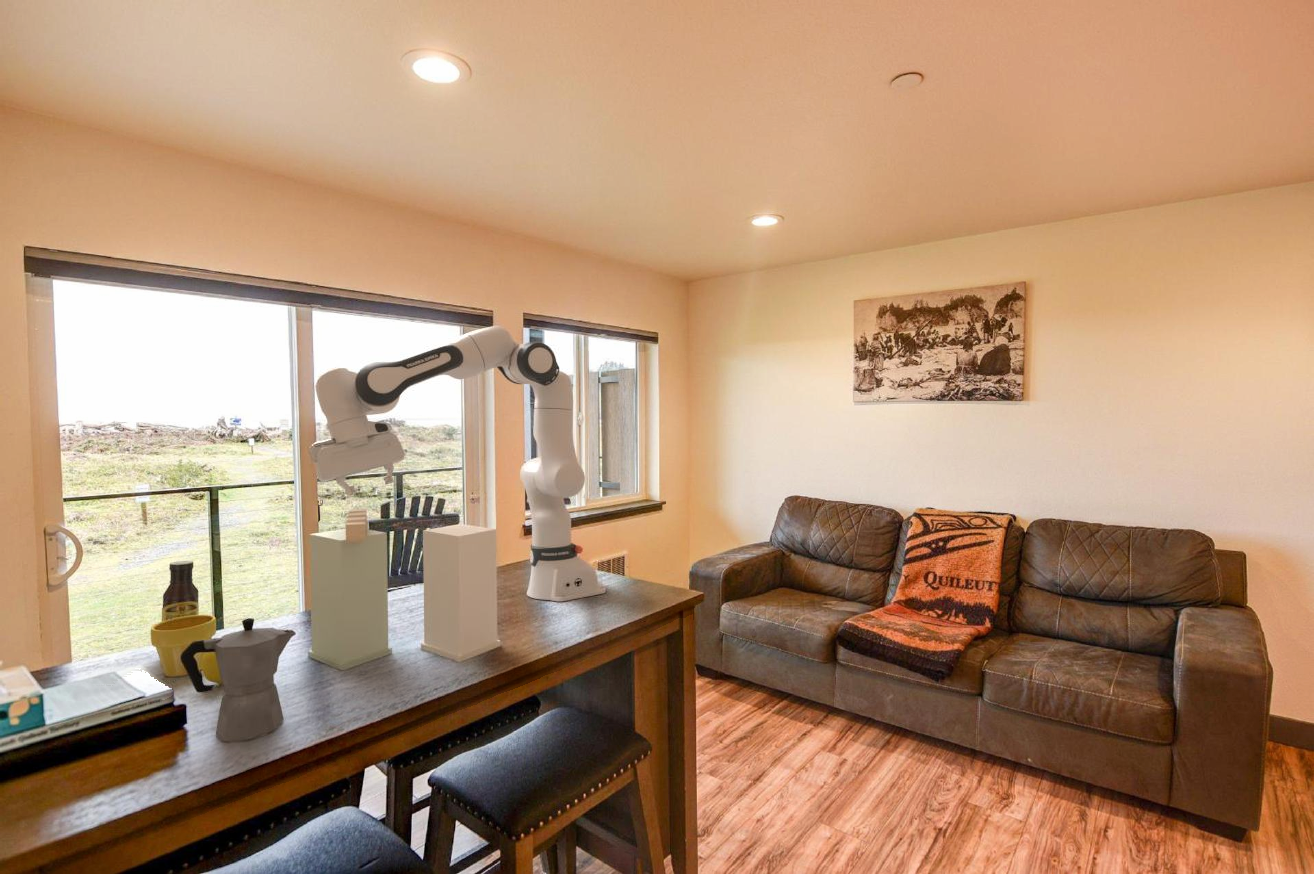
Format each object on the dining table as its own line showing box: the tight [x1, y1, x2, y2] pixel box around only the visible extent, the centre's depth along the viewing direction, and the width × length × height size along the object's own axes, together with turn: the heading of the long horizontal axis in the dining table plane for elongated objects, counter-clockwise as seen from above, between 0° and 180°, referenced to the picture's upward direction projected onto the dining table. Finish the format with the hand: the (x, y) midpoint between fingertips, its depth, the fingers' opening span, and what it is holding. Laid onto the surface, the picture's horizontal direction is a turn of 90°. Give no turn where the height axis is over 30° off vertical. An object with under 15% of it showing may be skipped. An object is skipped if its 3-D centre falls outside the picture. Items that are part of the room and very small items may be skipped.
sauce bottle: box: [161, 560, 200, 622], centre depth 132 cm, size 6×6×20 cm
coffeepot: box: [181, 618, 297, 743], centre depth 100 cm, size 15×9×18 cm, turn 122°
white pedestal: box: [420, 523, 502, 663], centre depth 136 cm, size 13×11×26 cm
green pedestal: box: [307, 528, 393, 671], centre depth 132 cm, size 13×11×26 cm
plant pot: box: [150, 614, 217, 678], centre depth 124 cm, size 10×10×10 cm
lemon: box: [201, 652, 224, 686], centre depth 118 cm, size 6×6×8 cm
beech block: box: [345, 508, 368, 543], centre depth 133 cm, size 22×4×4 cm, turn 24°
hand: (371, 488), depth 149 cm, fingers open, 8 cm apart
